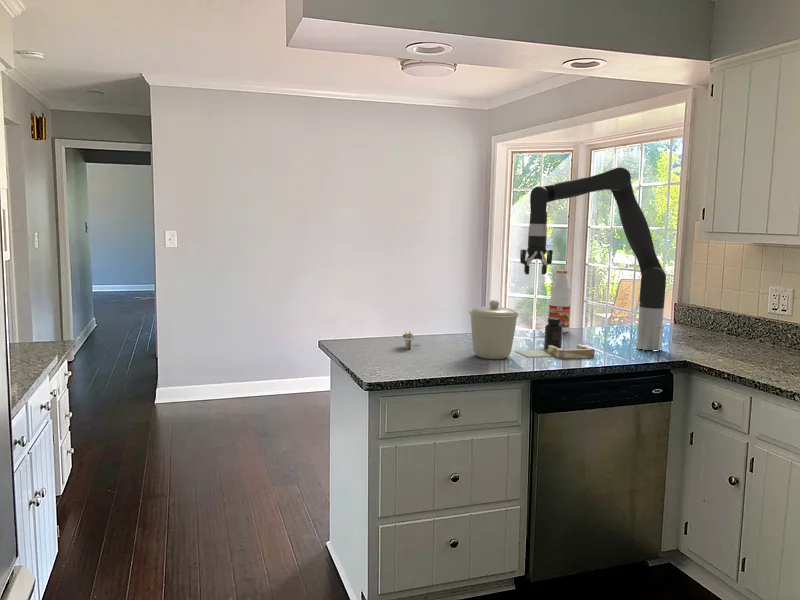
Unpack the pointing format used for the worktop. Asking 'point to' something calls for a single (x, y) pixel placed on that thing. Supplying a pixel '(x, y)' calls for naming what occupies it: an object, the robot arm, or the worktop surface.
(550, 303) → the fruit juice
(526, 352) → the sage tile
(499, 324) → the canister
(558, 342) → the supplement bottle
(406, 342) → the yellow figurine
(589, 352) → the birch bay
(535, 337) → the worktop surface
